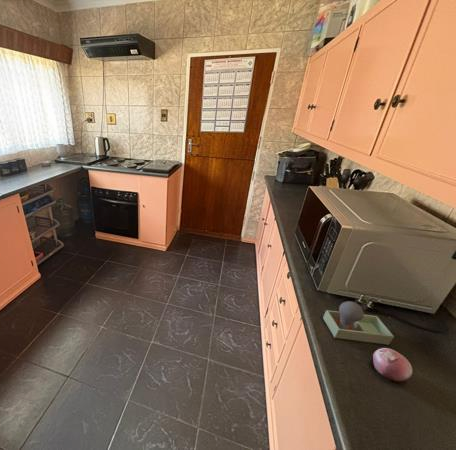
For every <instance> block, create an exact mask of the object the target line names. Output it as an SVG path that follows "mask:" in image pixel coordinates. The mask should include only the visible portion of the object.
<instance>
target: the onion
mask: <svg viewBox="0 0 456 450" xmlns="http://www.w3.org/2000/svg"><path fill="white" fill-rule="evenodd" d="M372 361H373V368H374V369H375V371H377V372H378V373H379V374H380V375H381V376H382V377H384V378H385V379H388V380H391V381H395V382H404V381H407V380H409V379H410V378H411V377H412V375H413V367H412V364H411V362H410V361H409V360H408V359H407V358H406V357H405V356H404V355H403V354H402V353H399V352H398V351H396V350H395V349H392V348H388V347H382V348H381V347H380V348H378V349H377V350H375V351H374V352H373V353H372Z"/></svg>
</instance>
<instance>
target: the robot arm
mask: <svg viewBox="0 0 456 450" xmlns="http://www.w3.org/2000/svg"><path fill="white" fill-rule="evenodd" d="M450 259H451V260H456V250H455V251H454V252H453V254H452V255H451V257H450Z"/></svg>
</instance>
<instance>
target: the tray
mask: <svg viewBox="0 0 456 450" xmlns="http://www.w3.org/2000/svg"><path fill="white" fill-rule="evenodd" d="M340 317H341V316H340V312H339V310H331V309H330V310H328V309H326V310H325V312H324V313H323V317H322V319H323V321H324V322H325V324H326V326H327V328H328V329H329V331H330V332H331V334H332V336H333V338H334V339H342V340H348V341H357V342H365V343H371V344H380V345H388V346H389V345H390V344H391V342H392V341H393V340H394V338H395V336H394V334H393V333H392V332H391V331H390V329H388V327H387V325H385V324H384V323H383V322H382V320H381V319H380V317H378V315H371V314H364V316H363V318H362V319H361V320H360V321H357V322H354V323H353V324H352V325H350V326H349V328H348V329H347V330H346V329H342V328H341V327H340V326H339V322H340Z"/></svg>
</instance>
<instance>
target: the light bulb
mask: <svg viewBox="0 0 456 450" xmlns="http://www.w3.org/2000/svg"><path fill="white" fill-rule="evenodd" d="M338 307H339V309H338V312H340V316H341V317H340V322H339V326H340V327H341V328H342V329H346V330H347V329H348V328H349V326H350V325H352V324H353V323H354V322H357V321H360V320H361V319H362V318H363V316H364V315H365V313H364V309H363V308H362V306H361V305H360V304H358V303H357V302H355V301H350V300H349V301H348V300H347V301H344V302H342V303H341V304H340V305H339V306H338Z"/></svg>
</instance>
